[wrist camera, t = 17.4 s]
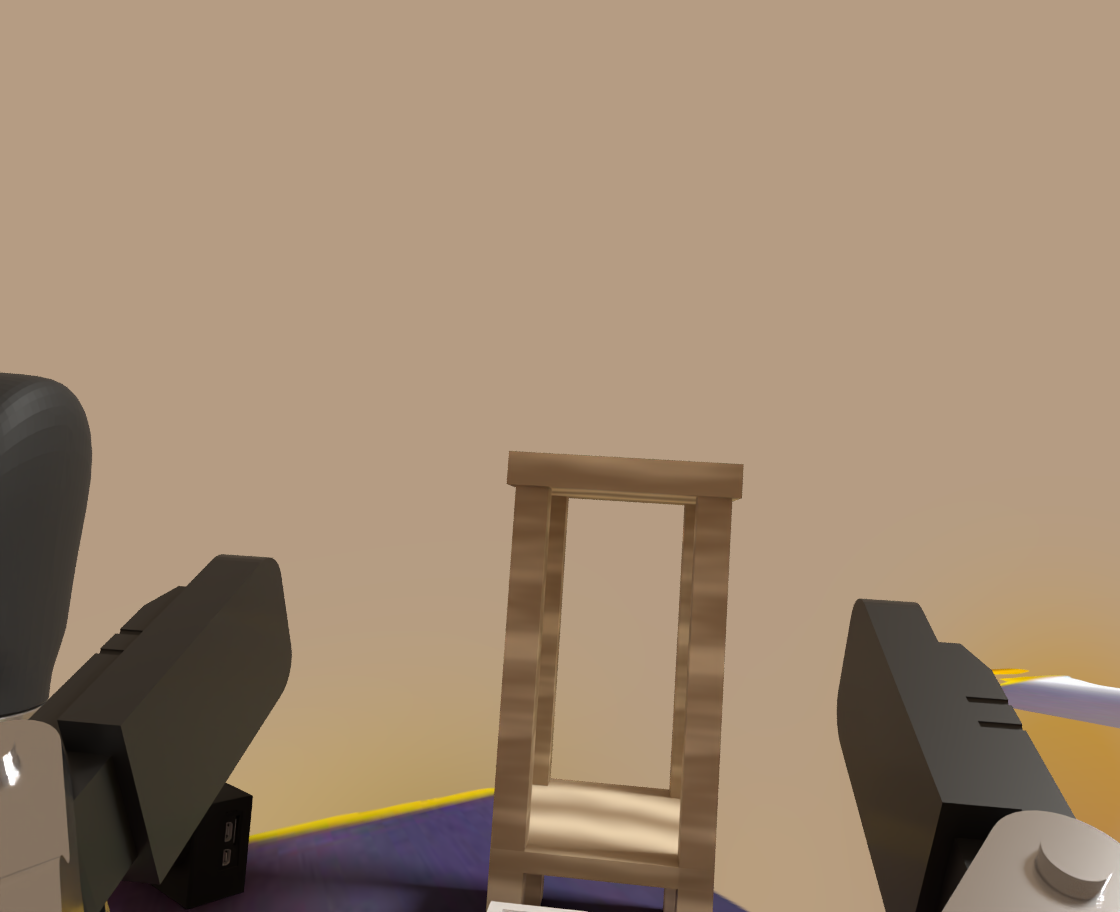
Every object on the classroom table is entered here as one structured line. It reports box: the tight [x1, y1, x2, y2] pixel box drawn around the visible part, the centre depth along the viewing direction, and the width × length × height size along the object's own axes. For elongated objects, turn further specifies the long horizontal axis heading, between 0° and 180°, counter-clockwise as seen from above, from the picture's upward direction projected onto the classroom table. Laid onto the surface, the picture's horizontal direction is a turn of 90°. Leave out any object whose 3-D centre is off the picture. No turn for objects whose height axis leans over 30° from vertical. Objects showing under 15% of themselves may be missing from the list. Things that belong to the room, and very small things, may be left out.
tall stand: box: [486, 451, 743, 912], centre depth 57 cm, size 16×14×32 cm
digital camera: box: [151, 783, 253, 909], centre depth 63 cm, size 10×5×7 cm, turn 51°
